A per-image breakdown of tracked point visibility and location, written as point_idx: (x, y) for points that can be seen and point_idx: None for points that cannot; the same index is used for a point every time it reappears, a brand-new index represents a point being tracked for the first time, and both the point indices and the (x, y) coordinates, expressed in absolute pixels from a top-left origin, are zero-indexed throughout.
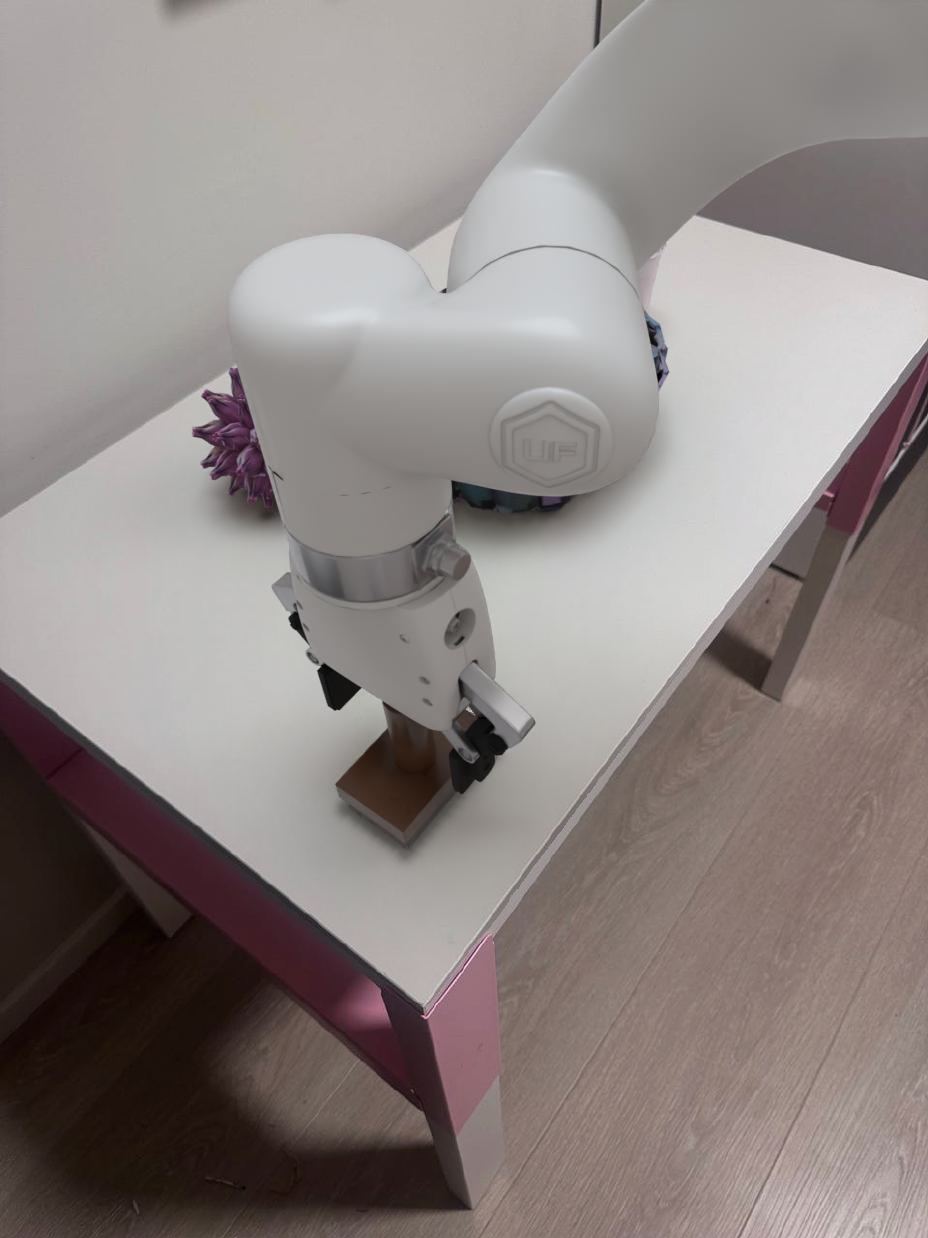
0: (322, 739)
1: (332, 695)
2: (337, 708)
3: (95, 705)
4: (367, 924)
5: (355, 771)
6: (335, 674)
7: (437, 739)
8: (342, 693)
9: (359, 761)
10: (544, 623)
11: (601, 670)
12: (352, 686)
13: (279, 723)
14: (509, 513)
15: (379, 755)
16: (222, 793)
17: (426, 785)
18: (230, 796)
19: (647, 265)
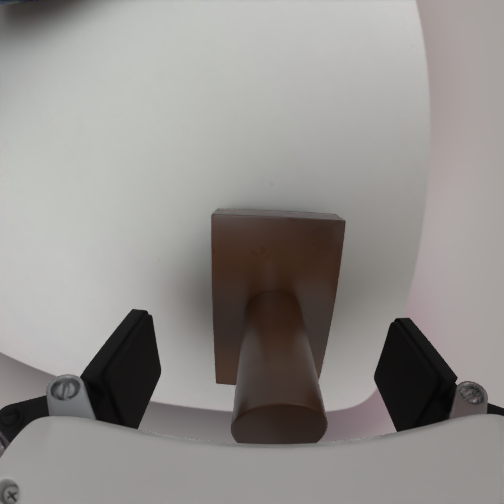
0: (147, 302)
1: (148, 401)
2: (159, 376)
3: (23, 350)
4: None
5: (224, 365)
6: (133, 420)
7: (286, 284)
8: (150, 377)
9: (218, 355)
10: (267, 13)
11: (369, 45)
12: (148, 356)
13: (103, 307)
14: None
15: (233, 339)
16: None
17: (311, 340)
18: None
19: None
